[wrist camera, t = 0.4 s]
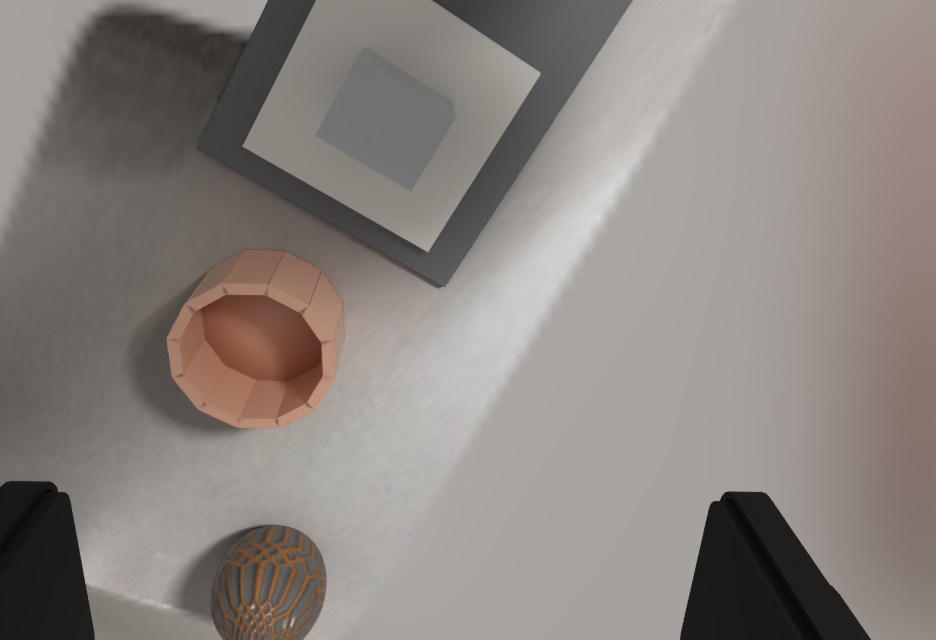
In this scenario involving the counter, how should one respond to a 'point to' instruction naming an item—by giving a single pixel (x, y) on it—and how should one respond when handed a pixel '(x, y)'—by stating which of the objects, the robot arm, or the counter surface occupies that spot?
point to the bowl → (258, 340)
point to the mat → (561, 66)
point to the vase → (269, 586)
